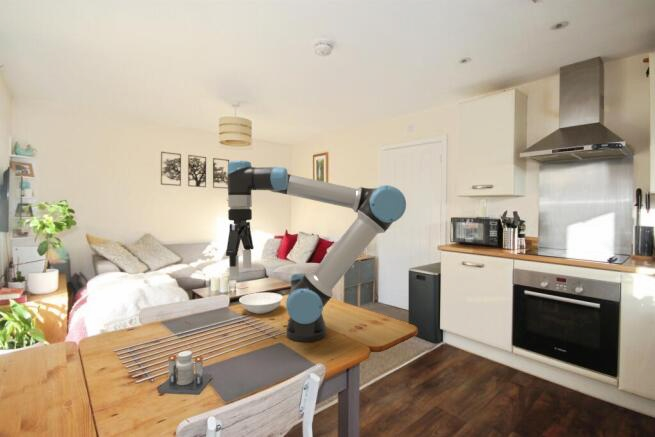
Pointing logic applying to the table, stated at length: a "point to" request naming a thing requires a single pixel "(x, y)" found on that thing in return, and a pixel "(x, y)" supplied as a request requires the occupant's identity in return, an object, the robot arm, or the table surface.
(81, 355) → the table surface
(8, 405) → the table surface
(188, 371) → the pill bottle
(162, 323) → the table surface
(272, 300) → the bowl
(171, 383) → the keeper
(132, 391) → the table surface
